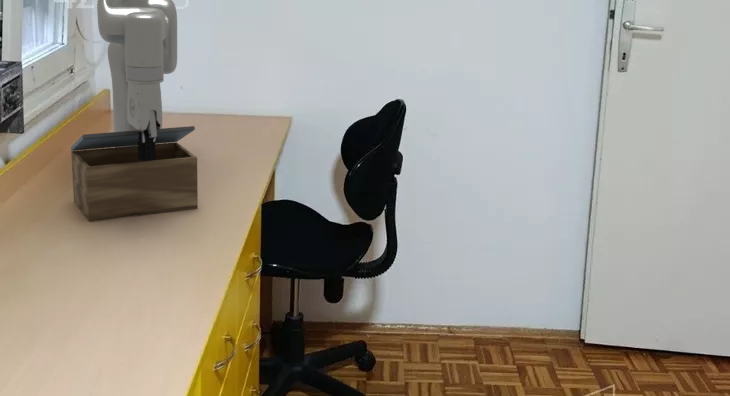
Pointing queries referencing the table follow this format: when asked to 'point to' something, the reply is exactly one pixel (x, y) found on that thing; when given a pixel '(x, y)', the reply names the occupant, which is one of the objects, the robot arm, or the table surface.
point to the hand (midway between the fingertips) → (147, 159)
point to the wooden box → (134, 181)
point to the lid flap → (128, 138)
